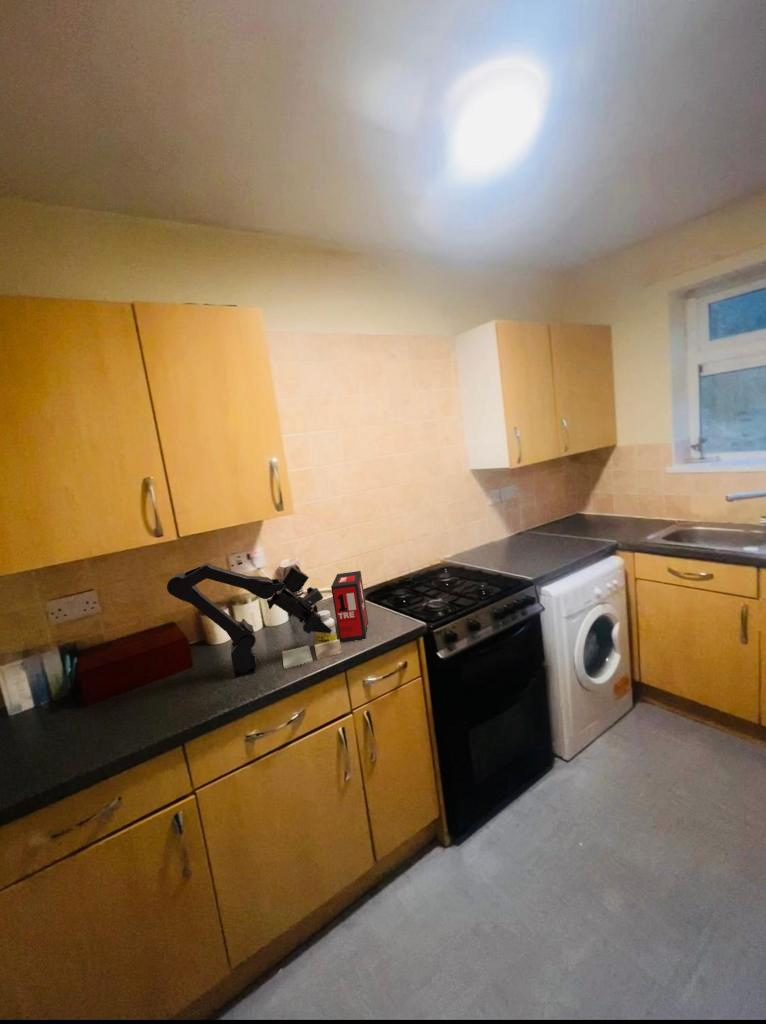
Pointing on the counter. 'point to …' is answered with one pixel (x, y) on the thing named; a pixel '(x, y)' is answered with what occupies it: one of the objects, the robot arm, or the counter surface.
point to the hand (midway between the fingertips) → (329, 628)
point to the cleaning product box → (350, 606)
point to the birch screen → (328, 649)
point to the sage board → (296, 656)
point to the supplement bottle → (330, 623)
